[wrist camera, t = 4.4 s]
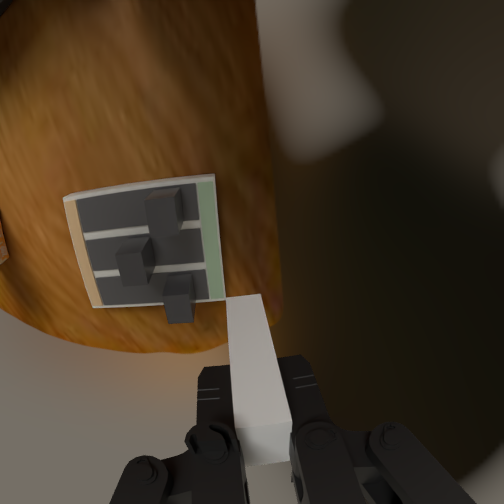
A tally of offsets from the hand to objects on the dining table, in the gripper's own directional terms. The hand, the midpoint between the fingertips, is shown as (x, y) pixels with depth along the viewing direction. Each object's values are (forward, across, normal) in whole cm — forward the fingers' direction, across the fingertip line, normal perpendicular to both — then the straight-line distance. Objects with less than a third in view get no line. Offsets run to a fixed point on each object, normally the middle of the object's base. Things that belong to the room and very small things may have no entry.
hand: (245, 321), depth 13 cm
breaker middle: (+20, -10, -4) cm, 23 cm away
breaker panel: (+22, -10, -4) cm, 24 cm away
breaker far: (+20, -7, -9) cm, 23 cm away
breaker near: (+20, -6, +1) cm, 21 cm away
